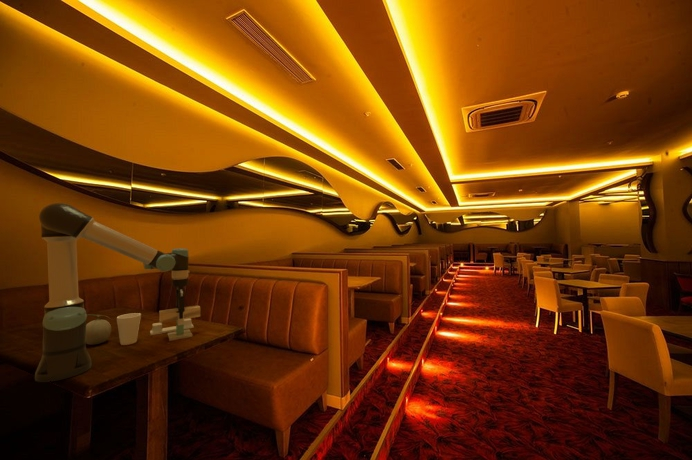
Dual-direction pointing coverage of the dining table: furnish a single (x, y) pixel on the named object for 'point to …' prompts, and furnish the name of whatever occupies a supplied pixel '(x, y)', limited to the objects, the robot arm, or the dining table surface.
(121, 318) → the foam cup
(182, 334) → the fulcrum
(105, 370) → the dining table surface
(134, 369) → the dining table surface
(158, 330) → the beige bracket
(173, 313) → the bar
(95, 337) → the fruit
